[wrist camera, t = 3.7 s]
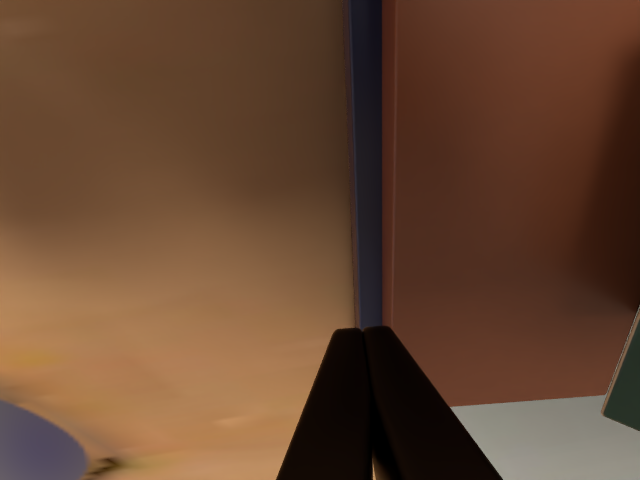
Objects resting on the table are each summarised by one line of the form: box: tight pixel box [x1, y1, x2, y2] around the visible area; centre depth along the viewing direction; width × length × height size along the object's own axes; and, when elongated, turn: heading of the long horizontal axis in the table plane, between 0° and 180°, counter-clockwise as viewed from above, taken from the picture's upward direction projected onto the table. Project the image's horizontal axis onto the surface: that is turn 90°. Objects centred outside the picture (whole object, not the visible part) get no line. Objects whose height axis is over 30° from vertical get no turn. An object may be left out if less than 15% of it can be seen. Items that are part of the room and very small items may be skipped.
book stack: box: [342, 0, 640, 407], centre depth 13 cm, size 6×14×4 cm, turn 4°
